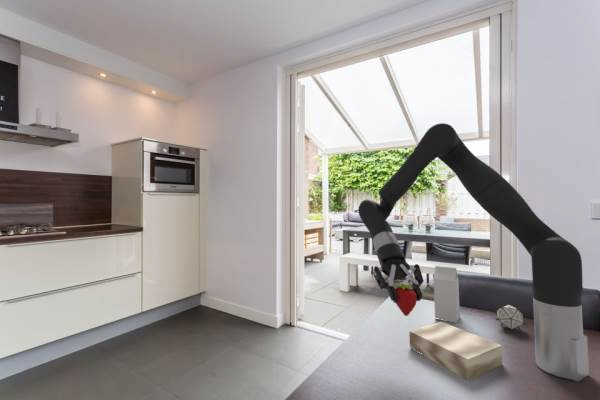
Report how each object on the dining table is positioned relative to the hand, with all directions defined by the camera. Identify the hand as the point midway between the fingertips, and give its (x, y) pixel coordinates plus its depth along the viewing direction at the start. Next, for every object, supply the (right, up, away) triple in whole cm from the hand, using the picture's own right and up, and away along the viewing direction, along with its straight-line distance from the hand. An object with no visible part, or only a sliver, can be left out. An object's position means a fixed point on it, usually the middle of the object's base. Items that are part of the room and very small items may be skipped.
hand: (408, 300), depth 77 cm
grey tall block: (+26, -17, +29) cm, 42 cm away
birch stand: (+14, -17, +3) cm, 22 cm away
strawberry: (0, -5, +2) cm, 5 cm away
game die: (+42, -16, +19) cm, 49 cm away
